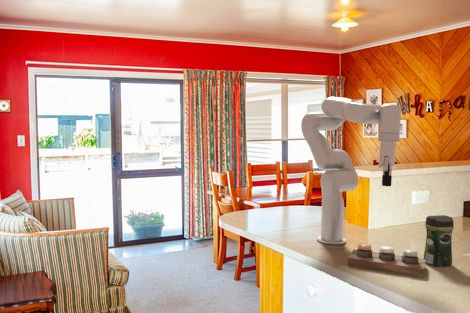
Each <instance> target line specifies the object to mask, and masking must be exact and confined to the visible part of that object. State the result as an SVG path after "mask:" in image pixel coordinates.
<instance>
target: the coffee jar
mask: <svg viewBox="0 0 470 313" xmlns="http://www.w3.org/2000/svg"><path fill="white" fill-rule="evenodd" d="M454 224H455V223H454V219H453V217H452V216H449V215H445V214H443V215H441V214H440V215H439V214H438V215H437V214H436V215H427V216H426V218H425V224H424V225H425V228H426V239H425V246H424V253H423V259H425V264H426V265H429V266H433V267H446V266H452V264H453V252H452V251H453V250H452V248H453V246H452V234H453V231H454V228H455V227H454Z"/></svg>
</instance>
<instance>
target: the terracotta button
mask: <svg viewBox="0 0 470 313" xmlns="http://www.w3.org/2000/svg"><path fill="white" fill-rule="evenodd" d="M358 248H359V249H361V250H372V245H371V244H368V243H358V245H357V249H358Z"/></svg>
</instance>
